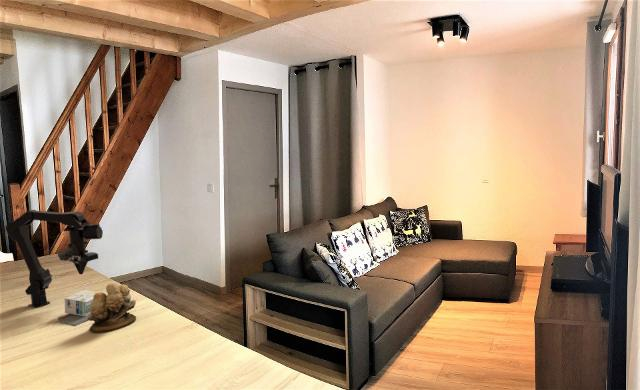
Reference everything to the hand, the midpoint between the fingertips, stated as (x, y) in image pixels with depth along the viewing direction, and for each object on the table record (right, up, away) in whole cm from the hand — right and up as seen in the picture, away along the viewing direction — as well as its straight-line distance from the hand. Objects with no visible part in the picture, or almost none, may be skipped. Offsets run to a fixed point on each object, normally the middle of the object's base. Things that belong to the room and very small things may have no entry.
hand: (81, 274), depth 200 cm
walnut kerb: (+5, -14, -12) cm, 19 cm away
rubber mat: (+11, -15, -15) cm, 23 cm away
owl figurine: (+27, -15, -26) cm, 40 cm away
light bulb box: (+2, -10, -10) cm, 14 cm away
